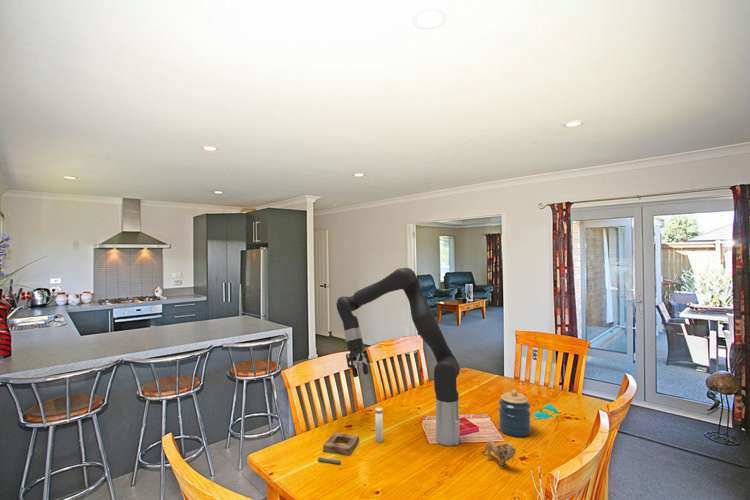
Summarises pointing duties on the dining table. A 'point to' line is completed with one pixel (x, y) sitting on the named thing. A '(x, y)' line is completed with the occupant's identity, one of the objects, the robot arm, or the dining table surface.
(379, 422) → the slim white bottle
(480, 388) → the dining table surface
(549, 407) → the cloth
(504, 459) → the lion figurine
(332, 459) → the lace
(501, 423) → the canister
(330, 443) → the brown square frame
